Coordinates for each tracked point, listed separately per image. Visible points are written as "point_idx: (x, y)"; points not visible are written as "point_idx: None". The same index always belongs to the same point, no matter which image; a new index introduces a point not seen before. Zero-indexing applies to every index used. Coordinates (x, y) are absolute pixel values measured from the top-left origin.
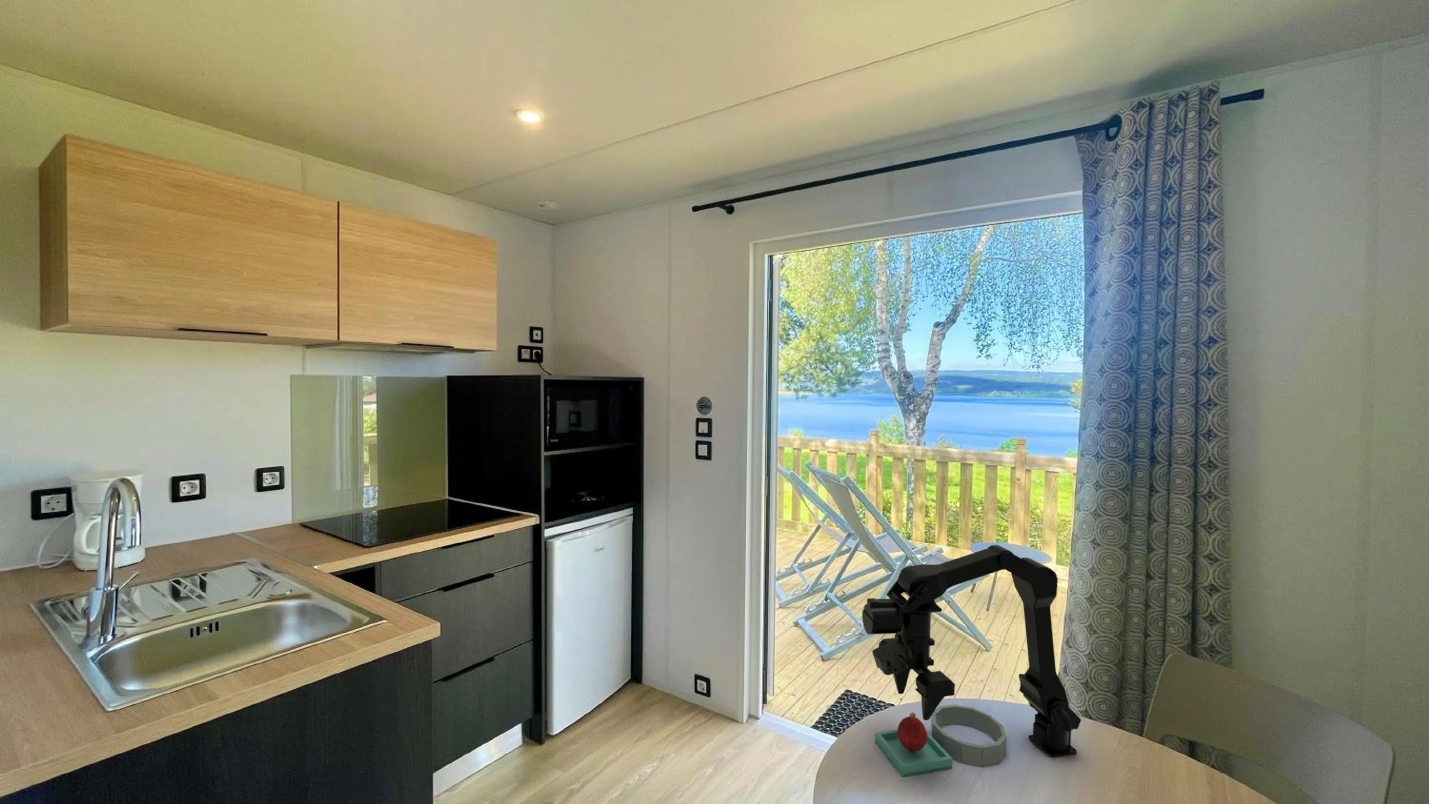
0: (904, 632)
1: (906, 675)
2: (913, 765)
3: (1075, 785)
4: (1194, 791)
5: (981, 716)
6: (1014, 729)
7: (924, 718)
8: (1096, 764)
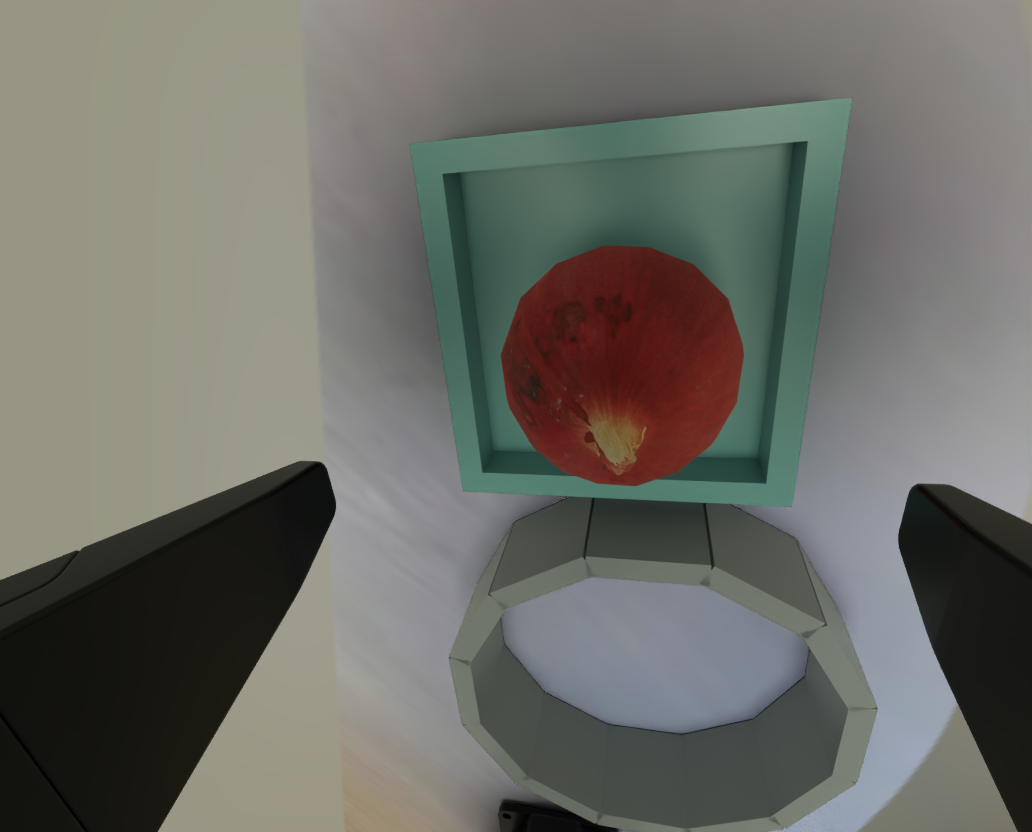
0: None
1: None
2: (424, 235)
3: (373, 759)
4: None
5: (716, 804)
6: None
7: (282, 469)
8: None
